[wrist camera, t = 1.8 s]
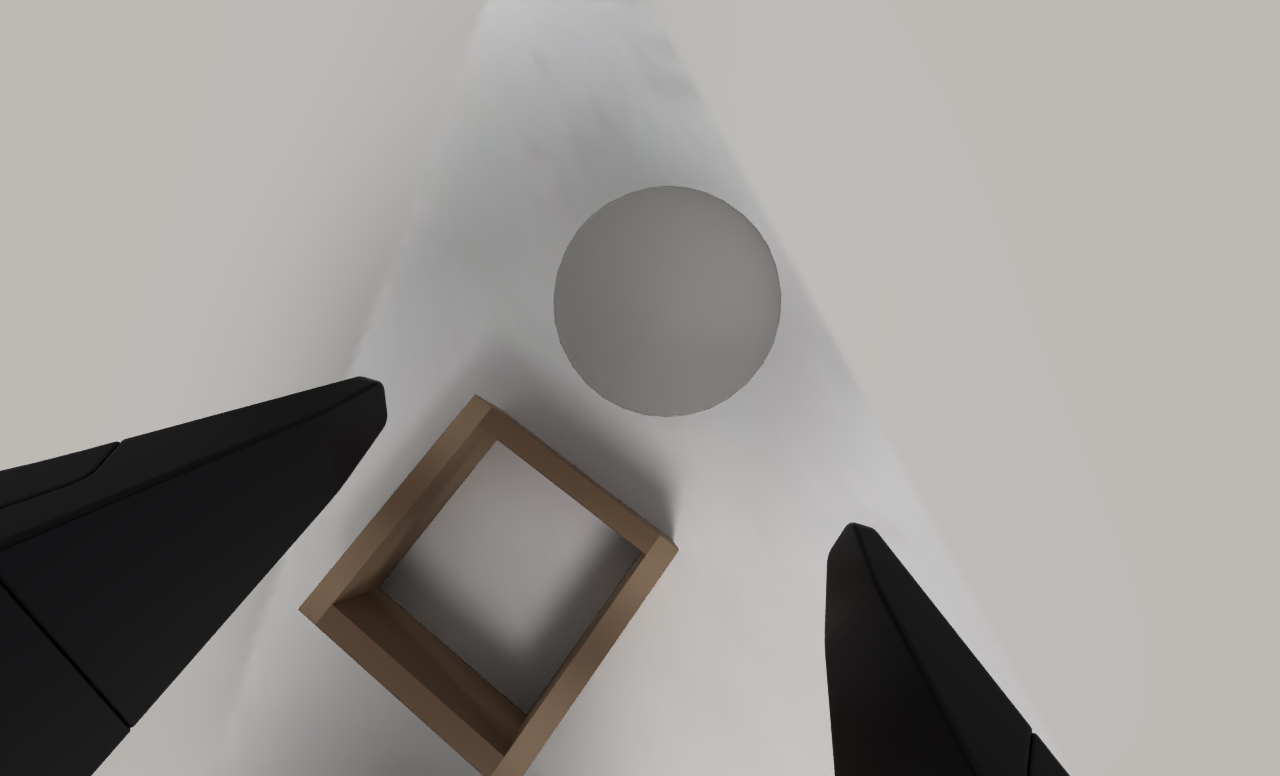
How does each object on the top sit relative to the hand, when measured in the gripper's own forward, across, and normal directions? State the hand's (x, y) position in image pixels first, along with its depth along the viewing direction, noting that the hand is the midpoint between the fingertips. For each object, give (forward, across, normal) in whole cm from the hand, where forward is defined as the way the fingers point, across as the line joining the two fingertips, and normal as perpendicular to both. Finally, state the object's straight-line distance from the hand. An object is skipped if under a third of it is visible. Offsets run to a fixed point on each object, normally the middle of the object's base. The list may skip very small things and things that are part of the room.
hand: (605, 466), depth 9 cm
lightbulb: (+12, 0, +5) cm, 13 cm away
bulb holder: (+5, +3, +11) cm, 13 cm away
